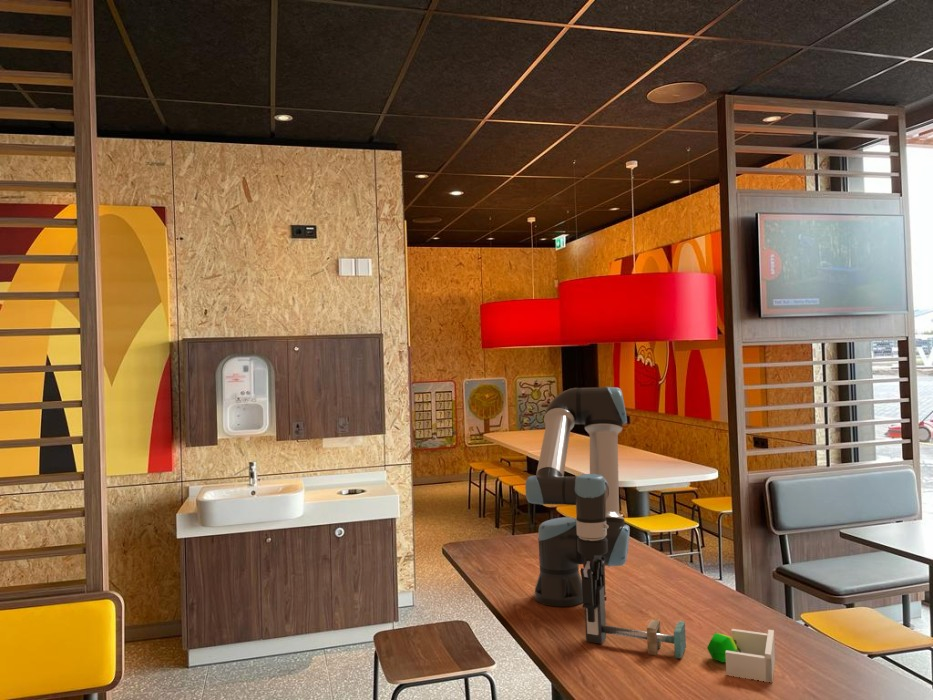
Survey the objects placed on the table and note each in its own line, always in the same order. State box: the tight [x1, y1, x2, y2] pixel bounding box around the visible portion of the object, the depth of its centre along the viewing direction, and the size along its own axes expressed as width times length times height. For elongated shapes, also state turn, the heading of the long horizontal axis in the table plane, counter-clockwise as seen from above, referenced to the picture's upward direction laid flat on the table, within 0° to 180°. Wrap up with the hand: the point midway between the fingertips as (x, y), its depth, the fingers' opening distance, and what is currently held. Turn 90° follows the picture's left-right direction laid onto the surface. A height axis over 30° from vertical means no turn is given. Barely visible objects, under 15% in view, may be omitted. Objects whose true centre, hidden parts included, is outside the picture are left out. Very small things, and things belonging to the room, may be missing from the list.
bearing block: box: [646, 619, 662, 656], centre depth 160 cm, size 2×6×6 cm, turn 153°
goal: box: [725, 628, 776, 684], centre depth 150 cm, size 9×14×6 cm, turn 153°
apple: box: [706, 632, 742, 663], centre depth 154 cm, size 7×6×9 cm
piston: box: [584, 585, 687, 659], centre depth 163 cm, size 23×7×13 cm, turn 63°
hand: (595, 630), depth 167 cm, fingers closed on piston, 4 cm apart
